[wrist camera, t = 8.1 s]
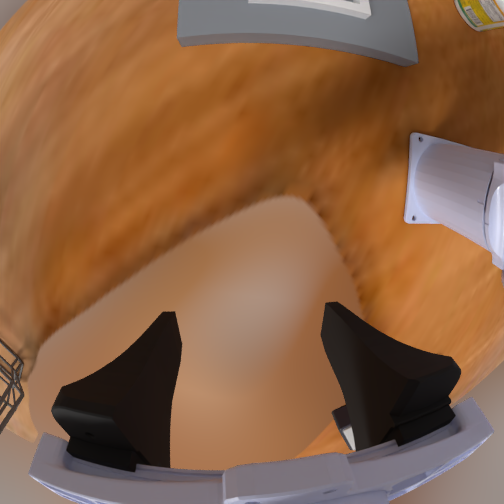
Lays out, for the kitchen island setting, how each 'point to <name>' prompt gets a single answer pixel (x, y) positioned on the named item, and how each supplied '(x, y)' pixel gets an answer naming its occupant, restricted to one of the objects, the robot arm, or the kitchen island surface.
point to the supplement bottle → (482, 13)
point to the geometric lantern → (11, 385)
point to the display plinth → (304, 25)
